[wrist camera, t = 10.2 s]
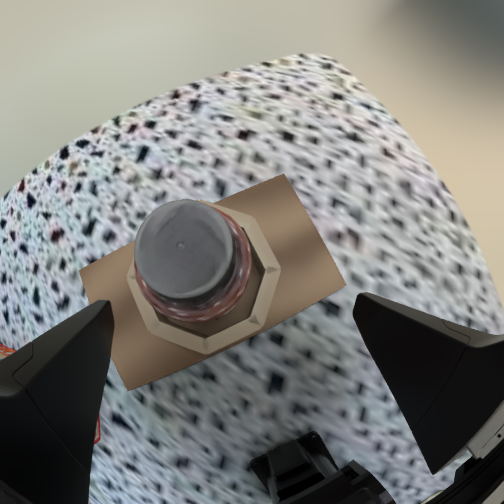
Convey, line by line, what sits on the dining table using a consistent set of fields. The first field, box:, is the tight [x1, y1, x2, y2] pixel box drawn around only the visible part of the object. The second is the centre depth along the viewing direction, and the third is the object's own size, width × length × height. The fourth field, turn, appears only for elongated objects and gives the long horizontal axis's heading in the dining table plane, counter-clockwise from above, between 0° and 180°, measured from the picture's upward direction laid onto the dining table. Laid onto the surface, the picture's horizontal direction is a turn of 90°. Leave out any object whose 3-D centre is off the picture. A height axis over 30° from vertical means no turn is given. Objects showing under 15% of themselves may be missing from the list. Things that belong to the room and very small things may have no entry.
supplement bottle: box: [134, 199, 252, 322], centre depth 16 cm, size 6×6×11 cm
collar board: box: [79, 174, 346, 391], centre depth 20 cm, size 11×20×4 cm, turn 117°
